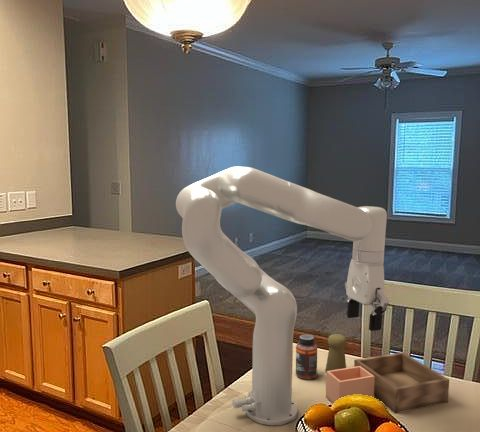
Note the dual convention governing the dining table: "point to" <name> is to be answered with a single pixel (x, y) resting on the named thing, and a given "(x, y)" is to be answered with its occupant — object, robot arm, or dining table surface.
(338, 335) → the olive green pawn
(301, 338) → the supplement bottle
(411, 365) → the big crate
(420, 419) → the dining table surface
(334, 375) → the small crate
